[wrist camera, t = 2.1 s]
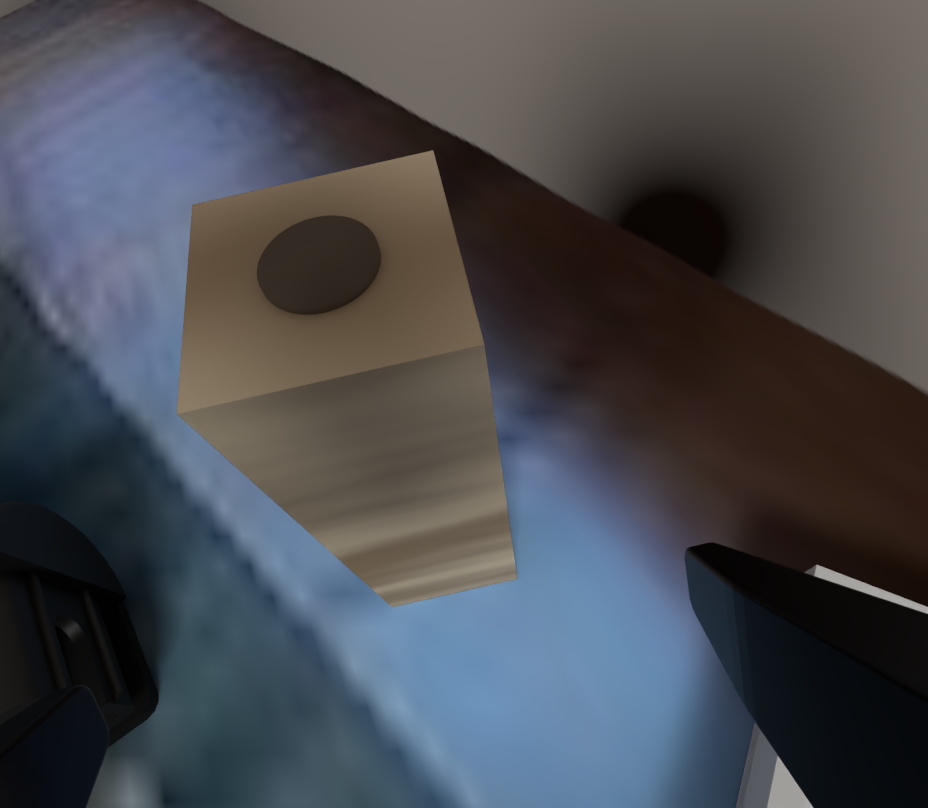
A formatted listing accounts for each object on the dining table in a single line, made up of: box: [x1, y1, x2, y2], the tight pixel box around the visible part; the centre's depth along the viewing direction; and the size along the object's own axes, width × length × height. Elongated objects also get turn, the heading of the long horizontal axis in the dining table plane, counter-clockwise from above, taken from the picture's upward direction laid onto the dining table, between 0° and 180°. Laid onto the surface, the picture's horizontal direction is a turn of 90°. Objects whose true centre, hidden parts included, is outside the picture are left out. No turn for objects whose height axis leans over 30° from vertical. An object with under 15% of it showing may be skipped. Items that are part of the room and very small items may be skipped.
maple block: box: [177, 151, 517, 607], centre depth 15 cm, size 4×4×14 cm
